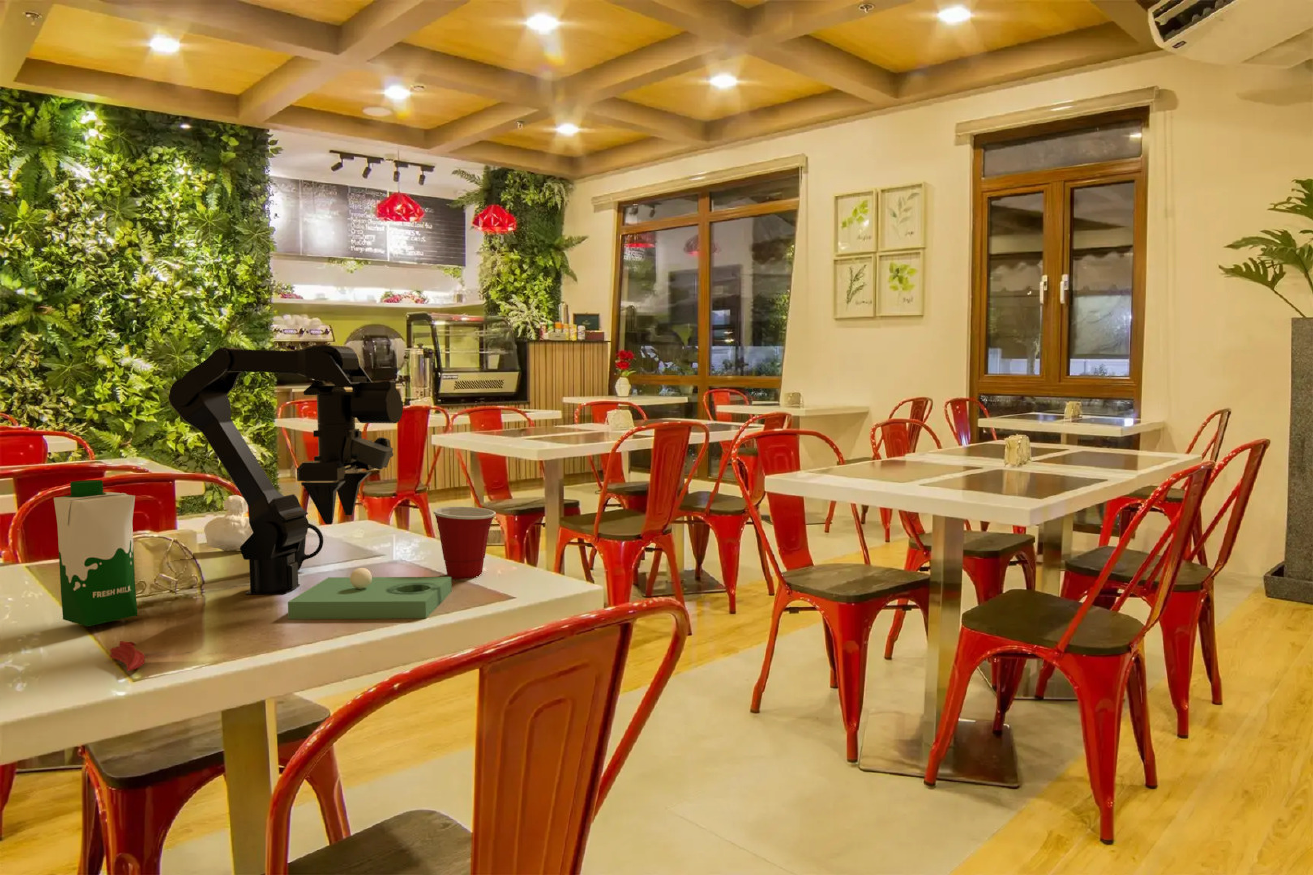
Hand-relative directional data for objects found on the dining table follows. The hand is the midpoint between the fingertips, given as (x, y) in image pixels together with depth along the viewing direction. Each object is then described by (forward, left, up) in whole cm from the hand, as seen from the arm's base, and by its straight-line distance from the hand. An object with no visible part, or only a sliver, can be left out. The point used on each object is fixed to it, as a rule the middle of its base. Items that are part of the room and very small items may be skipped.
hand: (339, 519), depth 144 cm
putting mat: (+8, -8, -12) cm, 16 cm away
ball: (+6, -8, -8) cm, 13 cm away
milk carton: (-30, -15, -12) cm, 36 cm away
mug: (-16, +17, -12) cm, 26 cm away
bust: (-35, +37, -12) cm, 52 cm away
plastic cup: (+18, +11, -12) cm, 24 cm away
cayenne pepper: (-16, -32, -13) cm, 38 cm away
